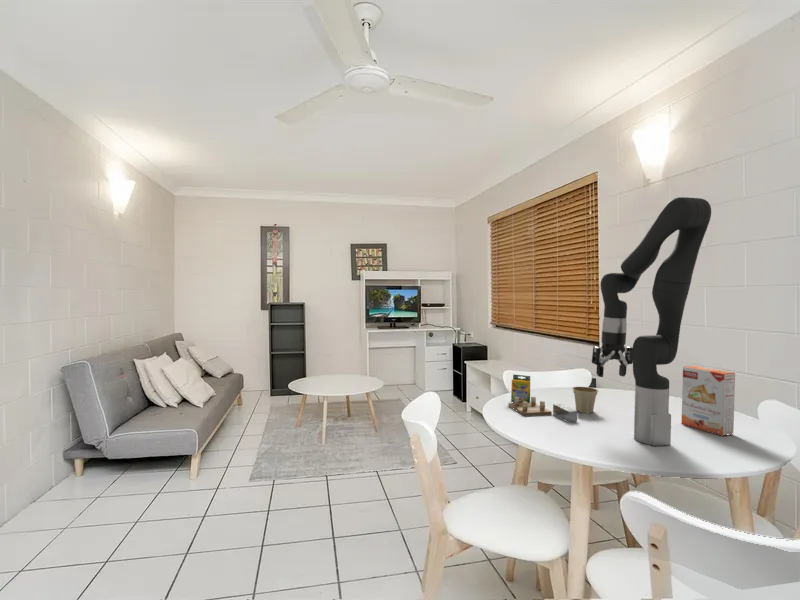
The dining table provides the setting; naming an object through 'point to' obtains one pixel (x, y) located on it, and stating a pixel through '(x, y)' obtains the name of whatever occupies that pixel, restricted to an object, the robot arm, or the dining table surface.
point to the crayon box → (520, 388)
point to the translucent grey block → (565, 412)
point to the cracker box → (708, 399)
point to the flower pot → (585, 398)
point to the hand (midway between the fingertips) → (611, 376)
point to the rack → (530, 407)
